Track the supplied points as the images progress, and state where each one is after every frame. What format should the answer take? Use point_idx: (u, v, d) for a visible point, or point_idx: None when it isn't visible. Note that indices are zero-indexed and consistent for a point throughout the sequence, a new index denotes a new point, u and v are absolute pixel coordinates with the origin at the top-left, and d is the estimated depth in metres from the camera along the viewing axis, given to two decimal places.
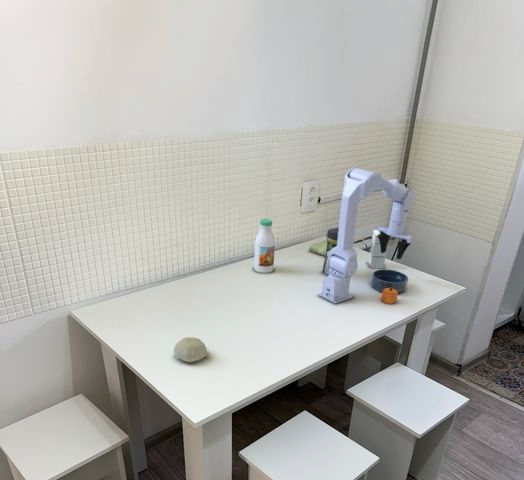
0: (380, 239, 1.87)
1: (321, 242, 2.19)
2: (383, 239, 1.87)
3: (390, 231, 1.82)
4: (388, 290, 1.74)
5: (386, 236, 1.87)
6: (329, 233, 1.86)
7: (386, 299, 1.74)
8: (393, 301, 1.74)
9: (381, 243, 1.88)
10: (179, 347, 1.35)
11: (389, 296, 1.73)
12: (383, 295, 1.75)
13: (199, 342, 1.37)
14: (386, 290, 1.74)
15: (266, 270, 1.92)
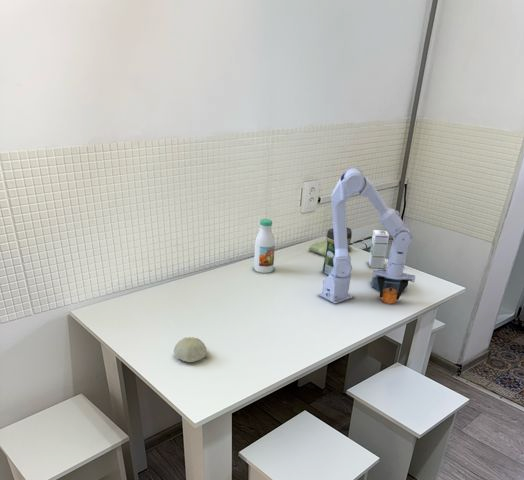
0: (381, 284, 1.72)
1: (321, 242, 2.19)
2: (383, 283, 1.72)
3: (393, 274, 1.69)
4: (388, 290, 1.74)
5: (384, 279, 1.73)
6: (329, 233, 1.86)
7: (386, 299, 1.74)
8: (393, 301, 1.74)
9: (381, 288, 1.73)
10: (179, 347, 1.35)
11: (389, 296, 1.73)
12: (383, 295, 1.75)
13: (199, 342, 1.37)
14: (386, 290, 1.74)
15: (266, 270, 1.92)
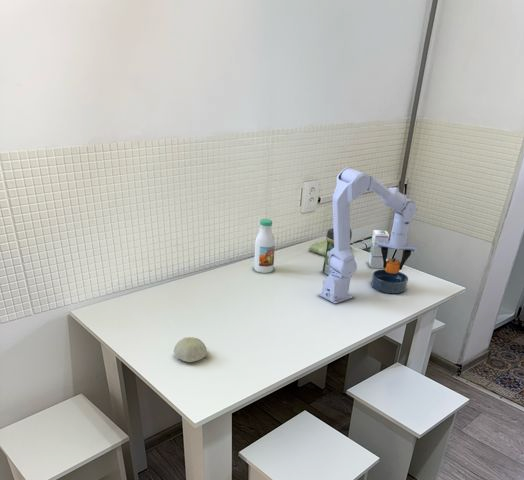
0: (384, 255, 1.78)
1: (321, 242, 2.19)
2: None
3: (396, 244, 1.75)
4: (391, 260, 1.81)
5: (387, 250, 1.79)
6: (329, 233, 1.86)
7: (390, 269, 1.80)
8: (396, 271, 1.81)
9: (385, 258, 1.79)
10: (179, 347, 1.35)
11: (392, 266, 1.79)
12: (386, 265, 1.81)
13: (199, 342, 1.37)
14: (389, 260, 1.81)
15: (266, 270, 1.92)
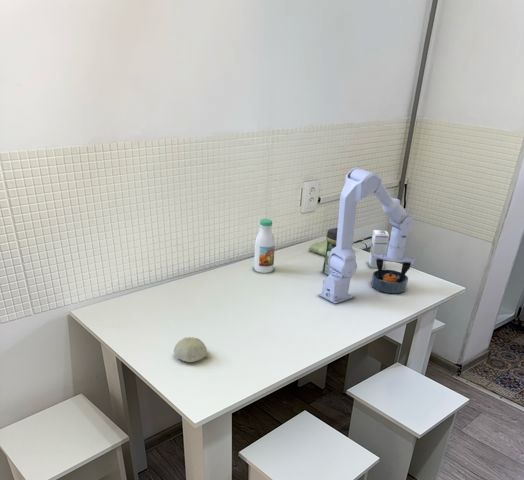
0: (379, 267, 1.82)
1: (321, 242, 2.19)
2: None
3: (393, 257, 1.78)
4: (388, 275, 1.85)
5: (382, 262, 1.83)
6: (329, 233, 1.86)
7: None
8: None
9: (380, 270, 1.83)
10: (179, 347, 1.35)
11: (389, 281, 1.83)
12: (383, 280, 1.85)
13: (199, 342, 1.37)
14: (386, 275, 1.85)
15: (266, 270, 1.92)
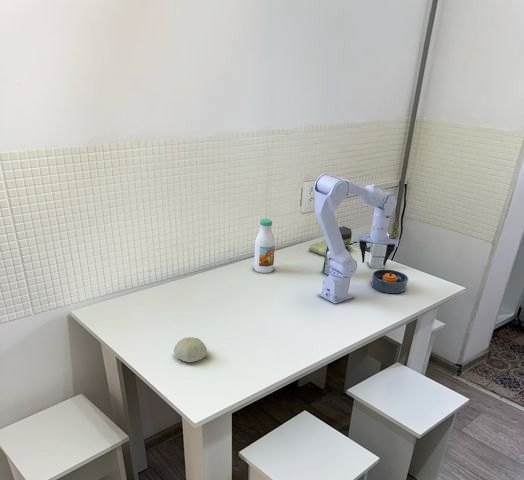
0: (363, 249, 1.76)
1: (321, 242, 2.19)
2: (365, 248, 1.76)
3: (377, 239, 1.72)
4: (388, 275, 1.85)
5: None
6: None
7: None
8: None
9: (363, 253, 1.77)
10: (179, 347, 1.35)
11: (389, 281, 1.83)
12: (383, 280, 1.85)
13: (199, 342, 1.37)
14: (386, 275, 1.85)
15: (266, 270, 1.92)
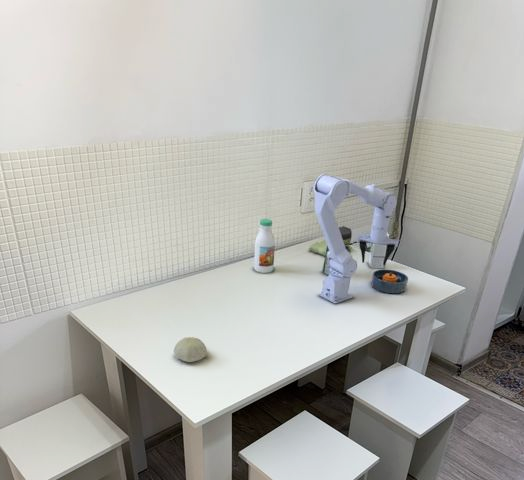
0: (363, 249, 1.76)
1: (321, 242, 2.19)
2: (365, 248, 1.76)
3: (377, 239, 1.72)
4: (388, 275, 1.85)
5: None
6: None
7: None
8: None
9: (363, 253, 1.77)
10: (179, 347, 1.35)
11: (389, 281, 1.83)
12: (383, 280, 1.85)
13: (199, 342, 1.37)
14: (386, 275, 1.85)
15: (266, 270, 1.92)
